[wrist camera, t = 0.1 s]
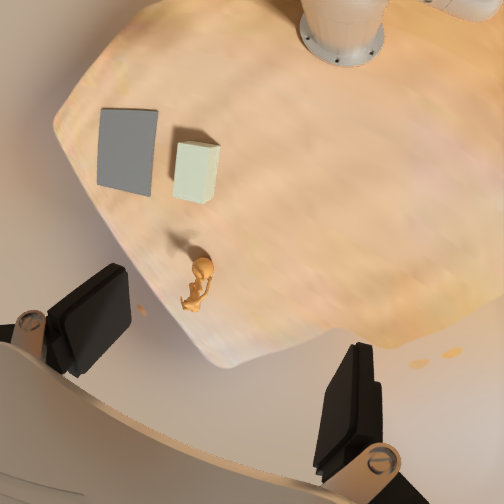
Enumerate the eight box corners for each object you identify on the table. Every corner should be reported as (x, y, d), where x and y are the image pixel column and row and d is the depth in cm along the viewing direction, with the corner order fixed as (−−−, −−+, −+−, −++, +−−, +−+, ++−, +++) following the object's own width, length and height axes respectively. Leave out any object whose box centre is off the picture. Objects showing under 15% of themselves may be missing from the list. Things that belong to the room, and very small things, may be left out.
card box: (191, 140, 46) (178, 142, 42) (221, 145, 45) (210, 147, 41) (185, 190, 50) (172, 196, 46) (213, 197, 49) (202, 204, 45)
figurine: (214, 243, 53) (183, 274, 42) (236, 268, 53) (211, 305, 43) (187, 266, 56) (154, 298, 46) (207, 289, 57) (179, 325, 47)
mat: (102, 109, 47) (101, 109, 47) (158, 111, 45) (156, 111, 44) (98, 183, 55) (97, 184, 54) (150, 196, 52) (148, 196, 52)
